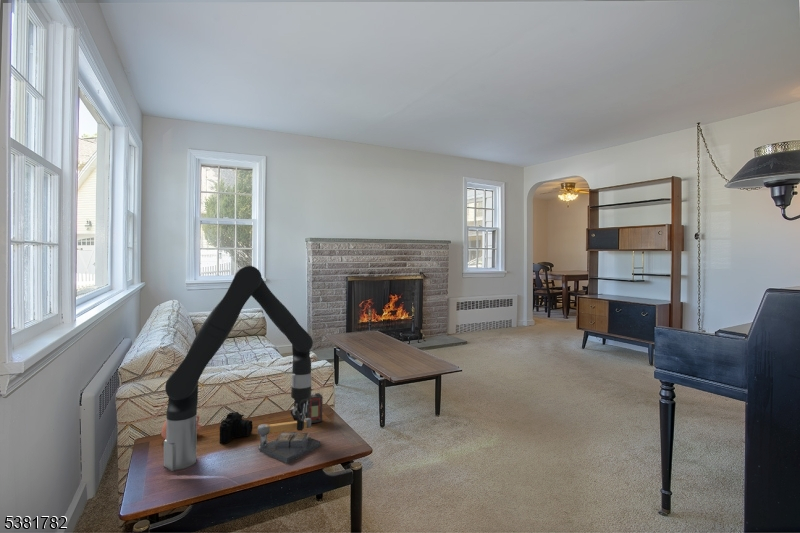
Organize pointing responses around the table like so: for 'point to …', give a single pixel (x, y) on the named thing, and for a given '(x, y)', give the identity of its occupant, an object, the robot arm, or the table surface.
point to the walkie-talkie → (315, 408)
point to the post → (262, 440)
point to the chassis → (290, 446)
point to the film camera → (234, 427)
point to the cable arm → (281, 427)
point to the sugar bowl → (166, 428)
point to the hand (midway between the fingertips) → (300, 429)
